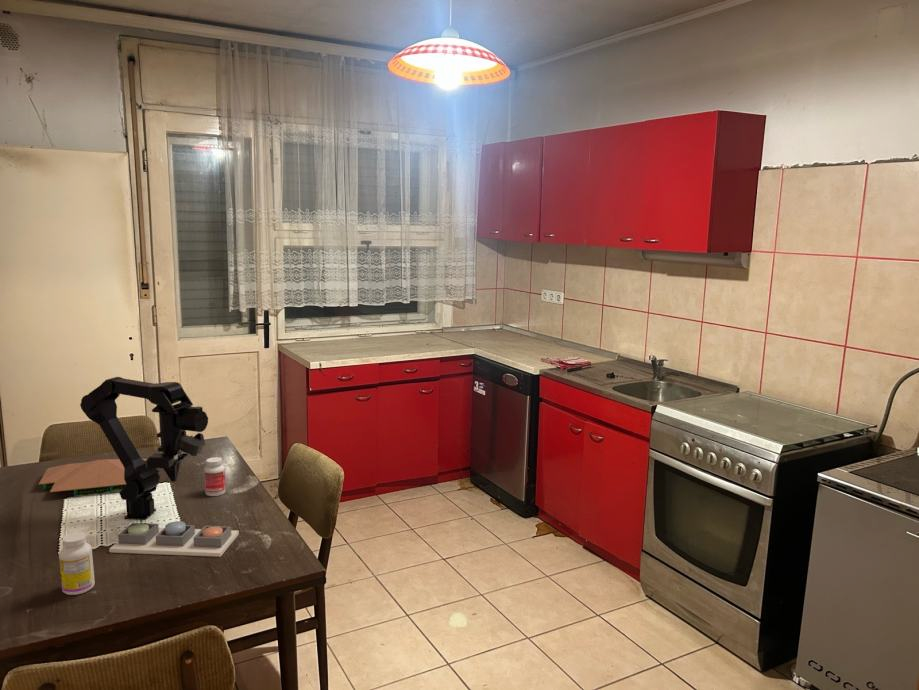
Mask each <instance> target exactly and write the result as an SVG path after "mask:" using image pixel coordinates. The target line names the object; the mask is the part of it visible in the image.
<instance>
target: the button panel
mask: <svg viewBox="0 0 919 690" xmlns="http://www.w3.org/2000/svg"><path fill="white" fill-rule="evenodd" d="M137 524H147V525H148V526H149V530H148V531H147V532H146V533H145V534H128V528H129V527H131V526H133V525H137ZM185 526H186V532H185V533H184V534H183V535H182V536H171V535H165V527H159V523H149V522H148V523H145V522H144V523H143V522H132V523H130V524H129V525H128V526H126V527H125V528H124V529H123V530H122V531H121V532H120V533H118V534H117V539H118V541H117V542H115V543H114V544H113V545H112V546H111V547H109V548H108V550H109V553H118V554H141V555H165V556H166V555H168V556H170V555H171V556H193V557H213V558H214V557H216V558H218V557H219V558H220V557H222V555H223V554H224V553H225V552H226V550H227V549H228V548H229V547H230V546H231V544H232V543H233V542H234V541H235V540H236V538H237V537H238V536H239V534H240V533H239V532H240V531H239V530H233V529H232V527H231V526H230V525H229V526H223V525H204V526H203V527H202V528H196V525H194V524H185ZM209 527H221V528H222V529H223V533H222V535H221V536H220V537H203V530H204V529H206V528H209Z"/></svg>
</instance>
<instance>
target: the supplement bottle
mask: <svg viewBox="0 0 919 690" xmlns="http://www.w3.org/2000/svg"><path fill="white" fill-rule="evenodd" d="M61 541H62V545H63V547H62V548H61V549H60V551H59V552H58V560H59V570H60V571H59V572H60V581H61V590H62V593H64V594H66V595H69V596H76V595H80V594H84V593H87V592H89V591H90V590H91V589H92V588H93V587H94V586H95V583H96V582H95V570H94V569H95V568H94V559H93V549H92V548H93V547H92V546H91V544H90V543H88V542H87V535H86V534H85V533H84V532H73V533H70V534H66V535H65V536H64V537H63V538H62V540H61Z"/></svg>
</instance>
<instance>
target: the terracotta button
mask: <svg viewBox="0 0 919 690" xmlns="http://www.w3.org/2000/svg"><path fill="white" fill-rule="evenodd" d="M222 533H223V529H222V528H221V527H209V528H206V529H204V530H203V537H220V536H221V535H222Z"/></svg>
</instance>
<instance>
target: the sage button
mask: <svg viewBox="0 0 919 690" xmlns="http://www.w3.org/2000/svg"><path fill="white" fill-rule="evenodd" d="M148 530H149V526H148V525H147V524H137V525H133V526H131V527H129V528H128V534H145V533H146V532H147V531H148Z"/></svg>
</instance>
